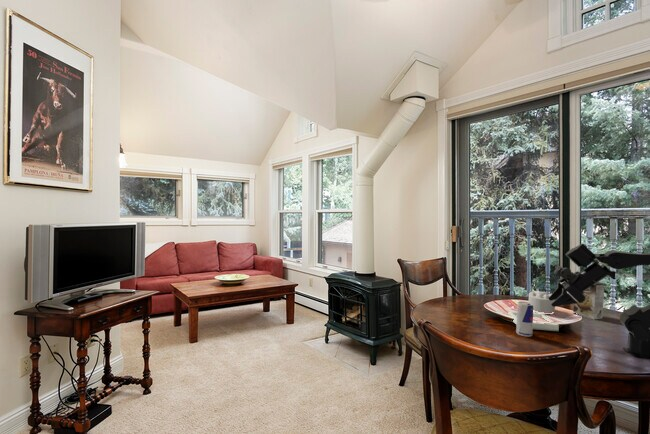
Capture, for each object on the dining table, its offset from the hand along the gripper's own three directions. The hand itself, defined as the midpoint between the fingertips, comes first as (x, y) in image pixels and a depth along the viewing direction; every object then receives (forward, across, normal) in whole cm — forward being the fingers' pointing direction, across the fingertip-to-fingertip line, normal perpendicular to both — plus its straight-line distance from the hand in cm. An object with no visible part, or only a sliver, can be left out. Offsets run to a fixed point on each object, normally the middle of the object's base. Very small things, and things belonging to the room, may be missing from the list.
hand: (550, 302), depth 124 cm
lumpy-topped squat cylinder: (+9, -39, +10) cm, 42 cm away
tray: (+13, -16, +6) cm, 21 cm away
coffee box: (-4, -42, +23) cm, 48 cm away
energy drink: (+16, 0, +4) cm, 16 cm away
